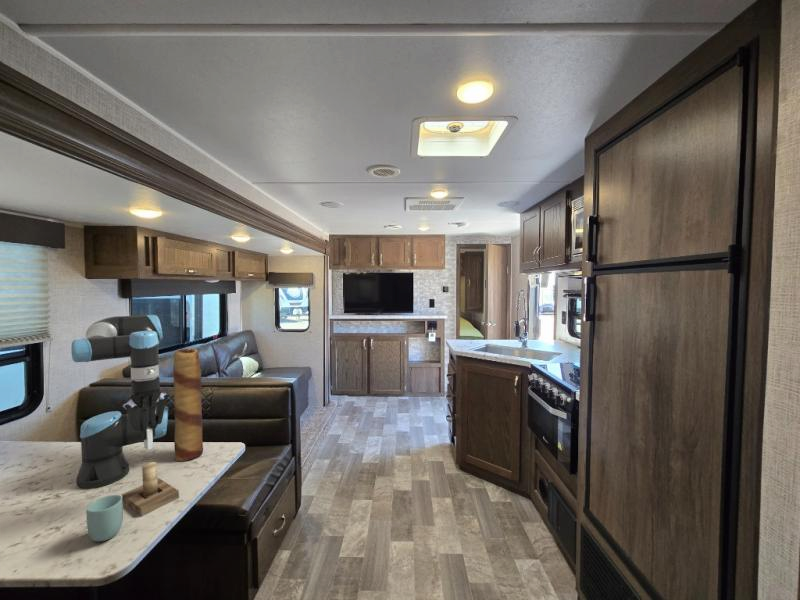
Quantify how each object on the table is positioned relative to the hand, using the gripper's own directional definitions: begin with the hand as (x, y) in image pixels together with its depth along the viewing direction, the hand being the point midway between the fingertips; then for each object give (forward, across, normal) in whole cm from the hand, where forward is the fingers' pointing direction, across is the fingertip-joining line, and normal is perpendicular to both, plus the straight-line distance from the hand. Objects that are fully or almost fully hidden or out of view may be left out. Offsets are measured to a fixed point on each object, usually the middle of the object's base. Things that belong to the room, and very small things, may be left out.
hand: (148, 447), depth 116 cm
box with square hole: (+18, 0, 0) cm, 18 cm away
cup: (+18, -15, -8) cm, 25 cm away
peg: (+18, 0, 0) cm, 18 cm away
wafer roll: (+18, +23, +20) cm, 35 cm away
